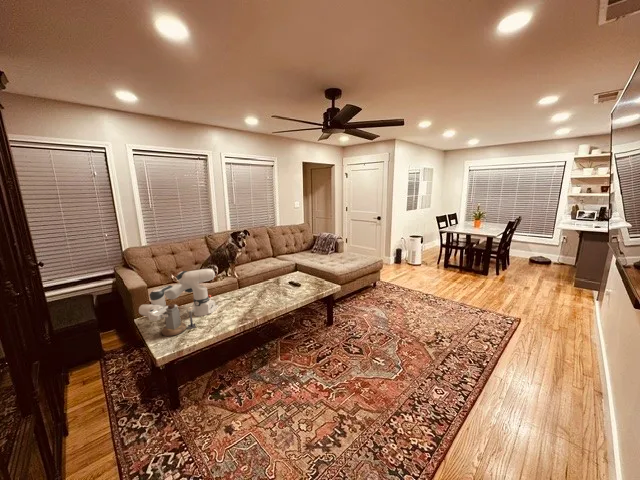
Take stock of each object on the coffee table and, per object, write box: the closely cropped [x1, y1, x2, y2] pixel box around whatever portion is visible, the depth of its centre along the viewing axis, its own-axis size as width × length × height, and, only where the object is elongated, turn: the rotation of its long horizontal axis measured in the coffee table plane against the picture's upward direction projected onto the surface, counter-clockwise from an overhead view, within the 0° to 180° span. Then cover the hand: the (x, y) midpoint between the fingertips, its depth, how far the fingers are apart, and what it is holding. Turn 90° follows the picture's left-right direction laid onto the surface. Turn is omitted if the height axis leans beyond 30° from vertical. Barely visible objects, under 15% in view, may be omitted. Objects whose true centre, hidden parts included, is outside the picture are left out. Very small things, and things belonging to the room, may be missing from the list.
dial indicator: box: [186, 305, 196, 330], centre depth 203 cm, size 5×5×17 cm
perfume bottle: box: [164, 303, 182, 330], centre depth 196 cm, size 7×7×18 cm
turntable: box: [161, 321, 187, 337], centre depth 198 cm, size 16×16×3 cm
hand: (173, 313), depth 195 cm, fingers open, 8 cm apart
